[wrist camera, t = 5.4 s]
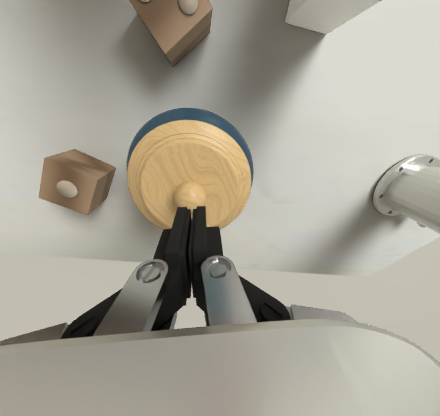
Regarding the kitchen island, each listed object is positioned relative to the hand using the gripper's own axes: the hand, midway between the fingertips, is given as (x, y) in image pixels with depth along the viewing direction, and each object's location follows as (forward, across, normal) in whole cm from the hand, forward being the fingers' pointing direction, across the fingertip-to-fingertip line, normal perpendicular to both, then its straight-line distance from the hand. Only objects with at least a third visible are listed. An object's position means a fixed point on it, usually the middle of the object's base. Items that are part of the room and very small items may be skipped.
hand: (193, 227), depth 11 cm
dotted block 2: (+21, +2, -16) cm, 26 cm away
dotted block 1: (+20, +18, +3) cm, 27 cm away
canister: (+21, +1, 0) cm, 21 cm away
